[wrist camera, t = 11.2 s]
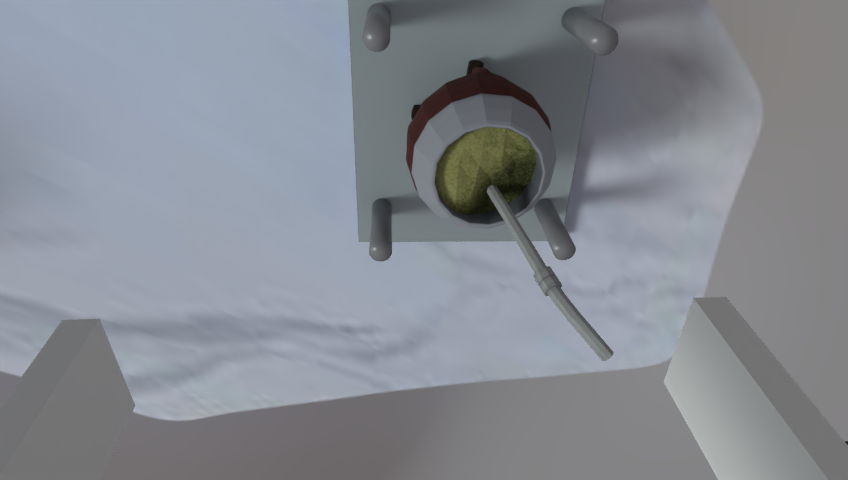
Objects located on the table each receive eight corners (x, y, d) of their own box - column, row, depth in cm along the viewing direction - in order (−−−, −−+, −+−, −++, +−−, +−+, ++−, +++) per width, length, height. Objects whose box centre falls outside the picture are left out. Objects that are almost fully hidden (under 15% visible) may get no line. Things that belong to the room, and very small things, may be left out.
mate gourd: (411, 45, 29) (426, 164, 16) (557, 60, 30) (681, 186, 17) (398, 175, 33) (403, 353, 20) (528, 185, 34) (611, 363, 21)
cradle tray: (347, -42, 27) (337, -28, 22) (606, -36, 28) (651, -21, 23) (359, 235, 36) (354, 289, 31) (557, 234, 36) (583, 287, 32)
